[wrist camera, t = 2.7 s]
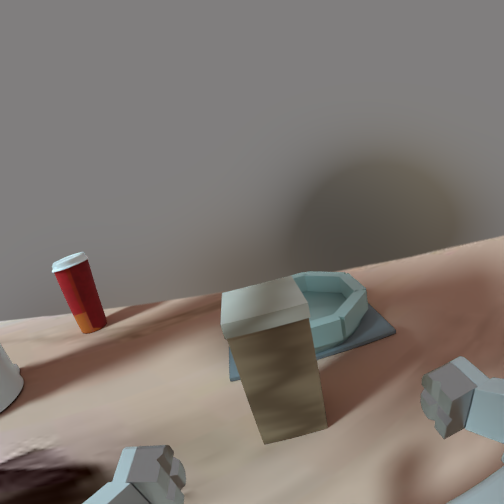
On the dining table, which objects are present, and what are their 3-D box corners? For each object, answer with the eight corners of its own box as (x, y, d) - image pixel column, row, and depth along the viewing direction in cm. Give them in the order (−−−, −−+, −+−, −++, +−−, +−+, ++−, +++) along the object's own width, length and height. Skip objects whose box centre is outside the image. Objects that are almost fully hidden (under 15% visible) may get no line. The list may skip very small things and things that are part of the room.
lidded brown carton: (263, 445, 20) (220, 324, 18) (257, 404, 25) (222, 292, 23) (329, 428, 20) (307, 302, 18) (314, 389, 26) (291, 275, 23)
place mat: (230, 381, 30) (229, 378, 30) (229, 316, 45) (228, 313, 45) (395, 333, 30) (395, 329, 30) (346, 284, 45) (346, 282, 45)
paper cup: (110, 314, 58) (87, 248, 54) (113, 326, 51) (85, 253, 48) (77, 326, 54) (52, 262, 51) (76, 340, 48) (46, 268, 44)
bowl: (240, 375, 30) (231, 348, 29) (236, 312, 45) (230, 291, 44) (386, 332, 30) (384, 304, 29) (339, 284, 45) (336, 263, 44)
